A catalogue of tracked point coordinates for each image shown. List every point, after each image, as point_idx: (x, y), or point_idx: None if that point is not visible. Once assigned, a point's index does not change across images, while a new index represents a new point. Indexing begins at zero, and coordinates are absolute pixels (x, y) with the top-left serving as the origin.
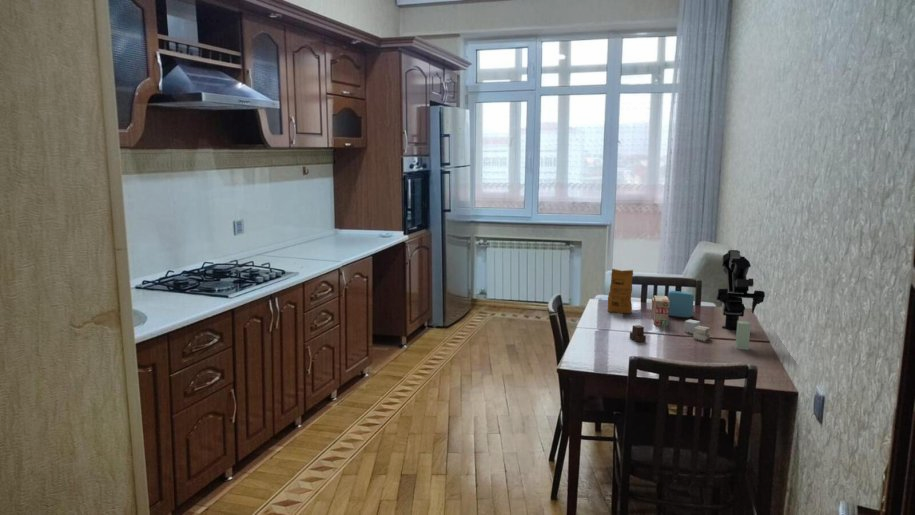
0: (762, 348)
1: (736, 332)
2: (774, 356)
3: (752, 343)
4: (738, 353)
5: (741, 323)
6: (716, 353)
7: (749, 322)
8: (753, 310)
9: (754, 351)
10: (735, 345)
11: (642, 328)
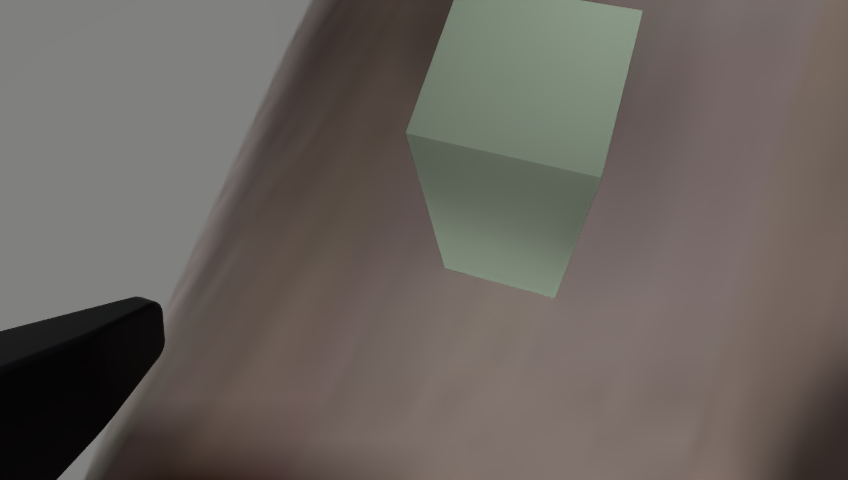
0: (319, 216)
1: (572, 250)
2: (346, 9)
3: (323, 391)
4: None
5: (601, 4)
6: (842, 46)
7: (434, 63)
8: (111, 308)
9: None
10: (555, 294)
11: None
